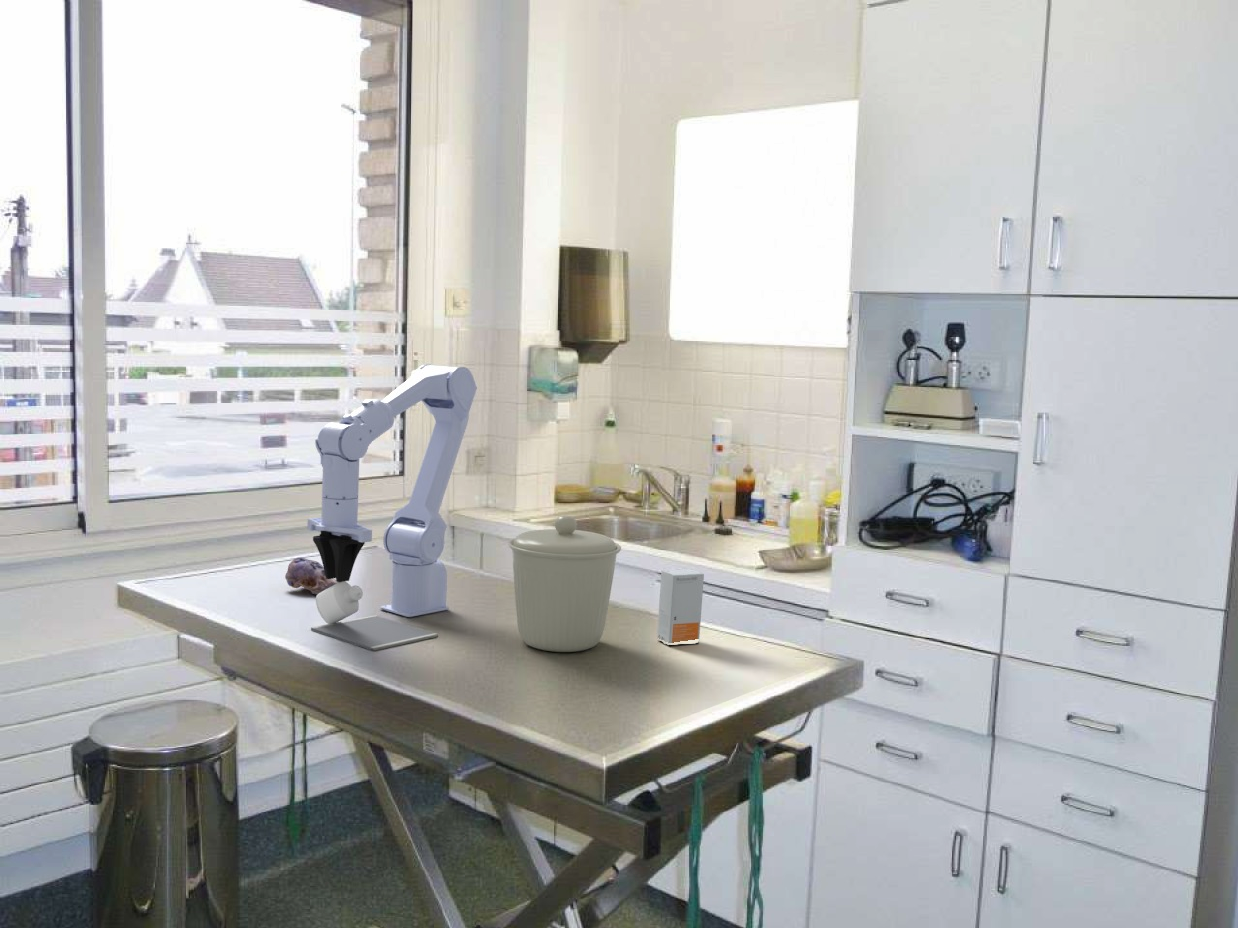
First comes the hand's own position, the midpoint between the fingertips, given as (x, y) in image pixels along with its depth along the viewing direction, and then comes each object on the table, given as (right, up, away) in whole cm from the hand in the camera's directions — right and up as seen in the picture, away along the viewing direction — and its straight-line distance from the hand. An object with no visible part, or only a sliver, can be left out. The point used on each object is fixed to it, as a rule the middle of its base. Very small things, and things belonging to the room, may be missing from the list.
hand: (337, 579), depth 181 cm
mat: (+6, -9, -1) cm, 11 cm away
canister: (+36, -11, -2) cm, 38 cm away
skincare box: (+56, -11, +3) cm, 57 cm away
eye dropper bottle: (-3, -5, +3) cm, 7 cm away
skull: (-11, -5, +25) cm, 28 cm away
